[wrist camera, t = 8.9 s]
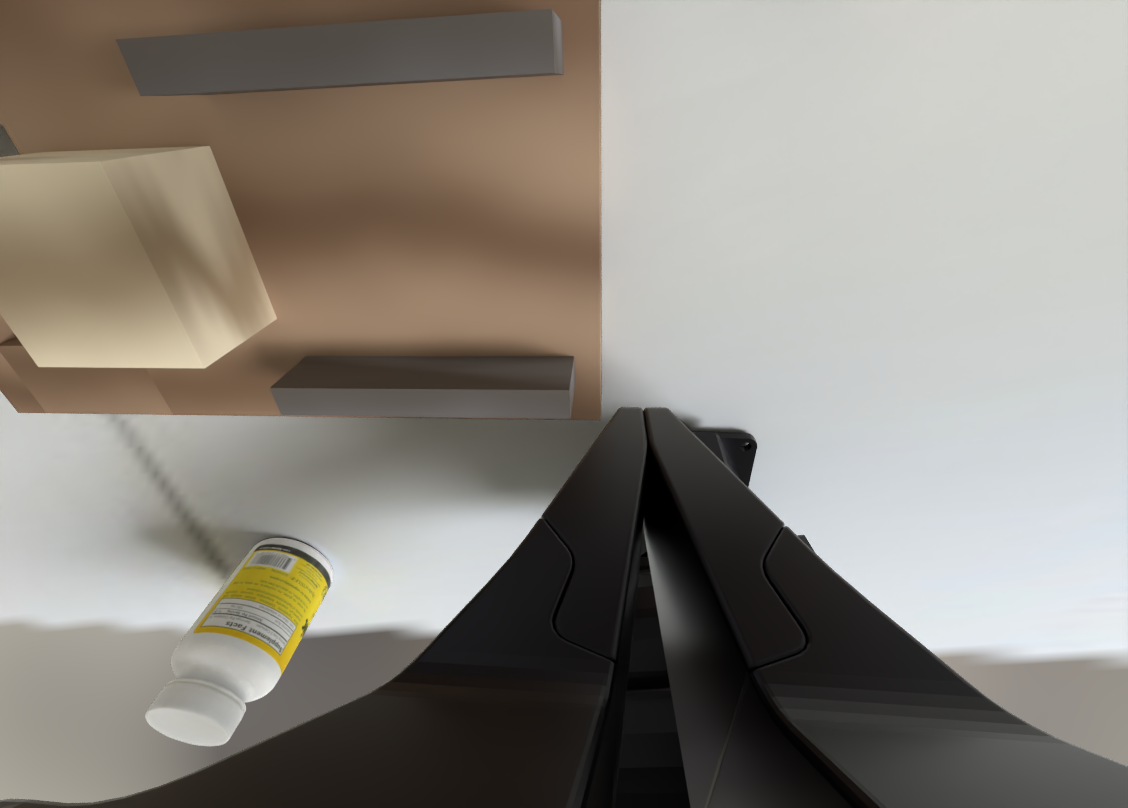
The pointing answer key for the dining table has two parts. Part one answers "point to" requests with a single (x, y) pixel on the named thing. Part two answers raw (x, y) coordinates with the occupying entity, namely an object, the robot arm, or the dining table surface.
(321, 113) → the lane board
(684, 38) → the dining table surface
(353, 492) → the dining table surface
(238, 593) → the supplement bottle
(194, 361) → the block
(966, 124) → the dining table surface
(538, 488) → the dining table surface
